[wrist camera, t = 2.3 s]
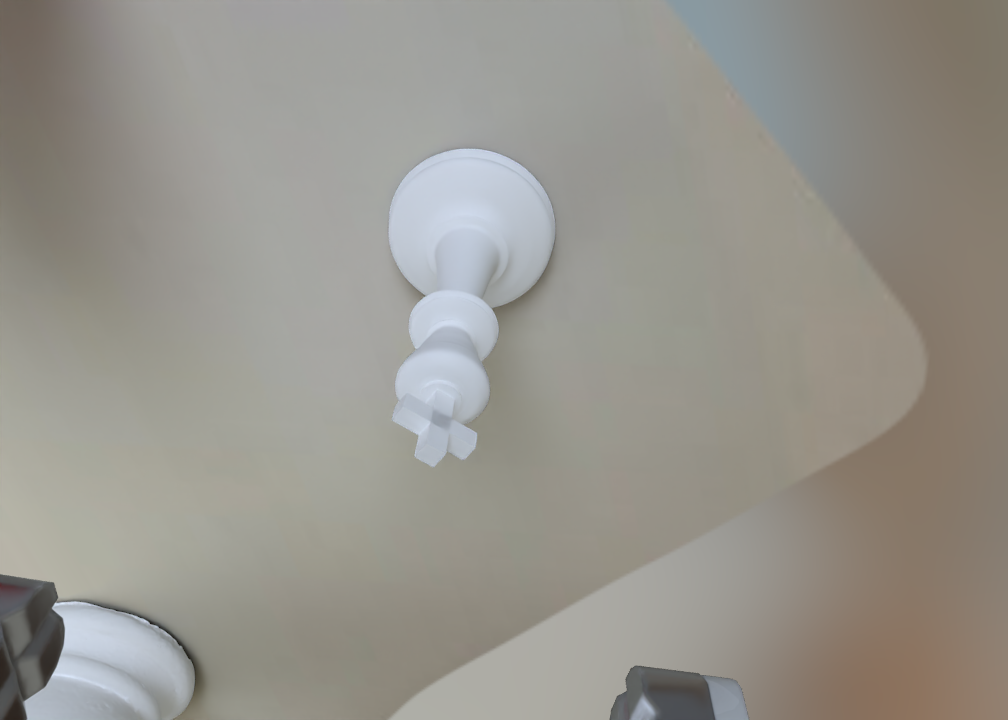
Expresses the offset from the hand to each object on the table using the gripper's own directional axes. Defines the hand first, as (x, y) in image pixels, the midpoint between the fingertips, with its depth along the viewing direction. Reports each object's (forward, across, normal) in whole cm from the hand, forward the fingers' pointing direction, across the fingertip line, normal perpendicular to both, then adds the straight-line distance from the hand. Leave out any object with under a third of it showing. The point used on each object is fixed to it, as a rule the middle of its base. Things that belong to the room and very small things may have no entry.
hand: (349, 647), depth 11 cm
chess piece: (+14, -1, 0) cm, 14 cm away
